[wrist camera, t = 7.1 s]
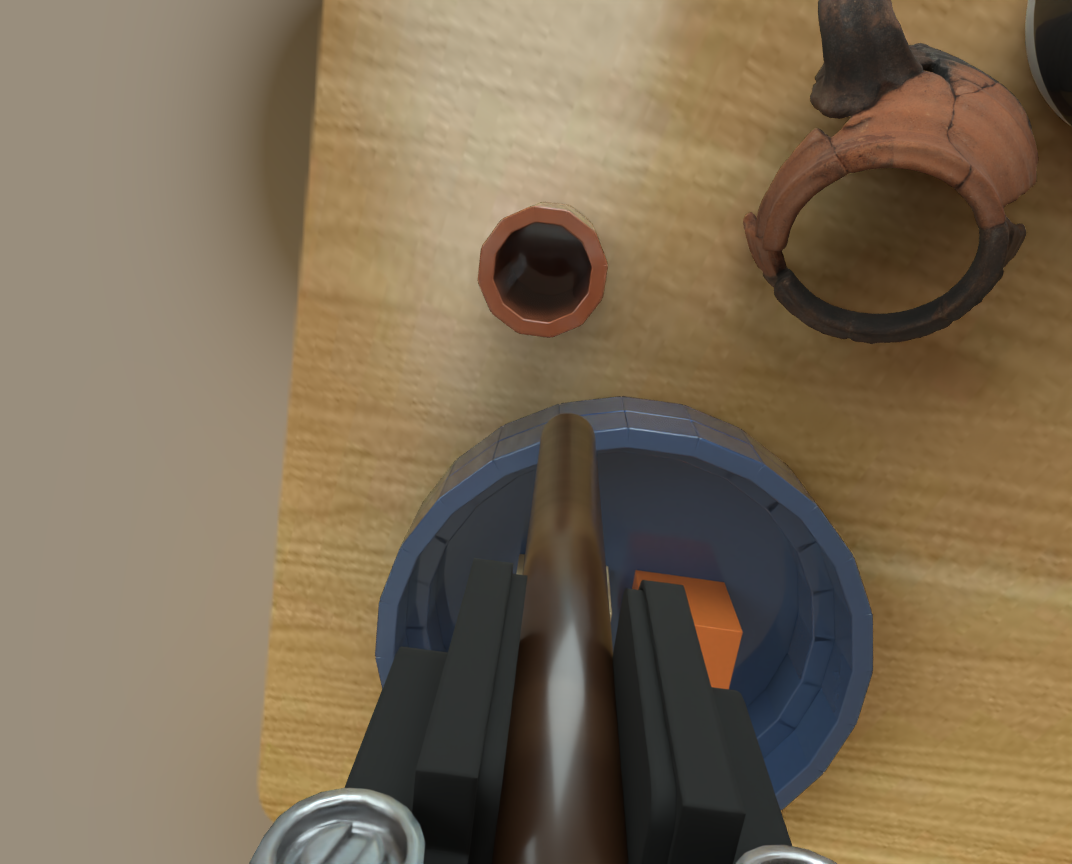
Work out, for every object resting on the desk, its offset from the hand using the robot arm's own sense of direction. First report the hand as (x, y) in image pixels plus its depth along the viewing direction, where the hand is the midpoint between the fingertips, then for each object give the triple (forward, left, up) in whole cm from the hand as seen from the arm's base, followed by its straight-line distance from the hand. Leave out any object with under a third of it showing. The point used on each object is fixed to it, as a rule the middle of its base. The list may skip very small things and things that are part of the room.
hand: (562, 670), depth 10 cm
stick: (0, 0, -11) cm, 11 cm away
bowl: (+4, -11, -23) cm, 26 cm away
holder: (-1, +4, -23) cm, 23 cm away
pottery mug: (+10, +9, -23) cm, 26 cm away
